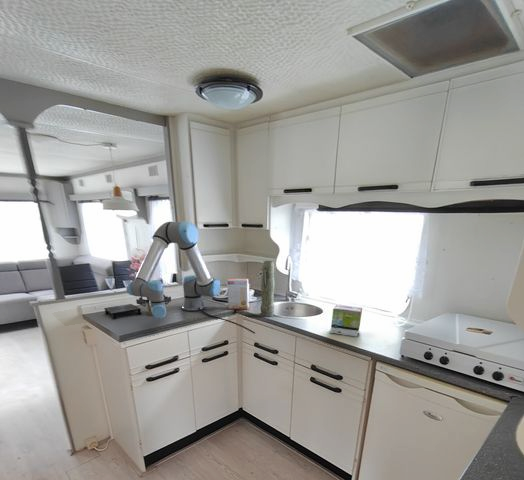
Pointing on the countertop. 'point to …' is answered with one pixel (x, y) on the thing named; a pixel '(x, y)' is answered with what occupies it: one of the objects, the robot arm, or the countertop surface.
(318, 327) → the countertop surface
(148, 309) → the packet
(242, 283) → the cracker box
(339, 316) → the tea box
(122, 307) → the black footed platform
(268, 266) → the thermos
